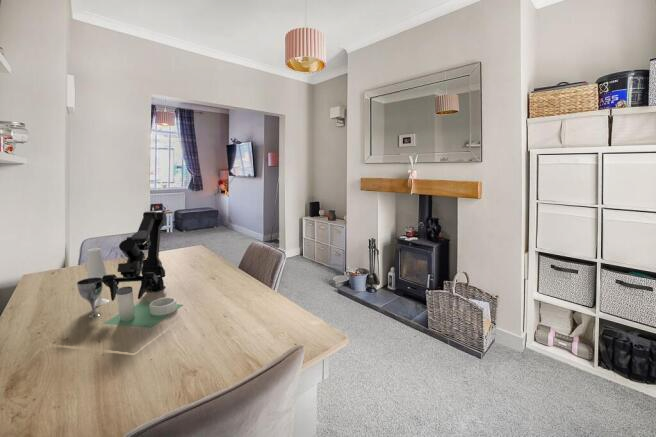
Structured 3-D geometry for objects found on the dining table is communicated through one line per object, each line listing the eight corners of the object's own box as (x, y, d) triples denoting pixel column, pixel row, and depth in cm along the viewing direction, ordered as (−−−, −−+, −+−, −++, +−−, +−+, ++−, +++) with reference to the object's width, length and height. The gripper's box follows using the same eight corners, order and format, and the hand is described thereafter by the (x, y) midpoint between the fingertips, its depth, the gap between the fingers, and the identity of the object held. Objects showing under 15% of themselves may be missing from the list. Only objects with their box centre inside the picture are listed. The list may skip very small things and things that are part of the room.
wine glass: (90, 312, 131) (85, 277, 129) (110, 312, 132) (106, 277, 129) (76, 322, 123) (71, 284, 121) (98, 321, 124) (94, 284, 122)
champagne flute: (90, 307, 136) (83, 252, 132) (91, 301, 142) (85, 248, 138) (109, 303, 140) (103, 250, 136) (109, 298, 145) (104, 246, 141)
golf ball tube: (116, 321, 123) (112, 291, 121) (126, 314, 128) (123, 286, 126) (128, 322, 122) (125, 292, 120) (138, 315, 127) (135, 286, 125)
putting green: (103, 324, 121) (102, 314, 120) (142, 302, 141) (141, 293, 140) (150, 329, 118) (149, 318, 117) (183, 306, 137) (183, 296, 137)
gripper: (101, 255, 125) (88, 292, 116) (152, 252, 128) (145, 289, 119) (112, 268, 134) (102, 304, 125) (161, 266, 137) (154, 300, 128)
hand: (125, 299), depth 124 cm, fingers open, 9 cm apart
